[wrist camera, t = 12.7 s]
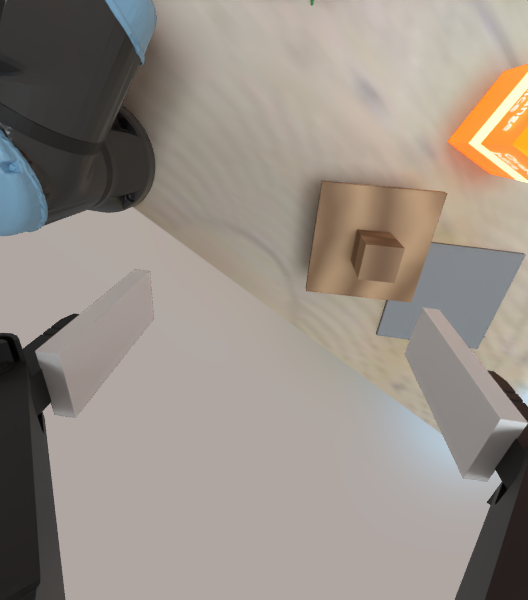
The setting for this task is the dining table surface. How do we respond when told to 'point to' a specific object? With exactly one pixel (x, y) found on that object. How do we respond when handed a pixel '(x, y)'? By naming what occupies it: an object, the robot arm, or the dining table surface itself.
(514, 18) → the dining table surface
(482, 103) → the orange juice
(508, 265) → the mat
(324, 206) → the lid
